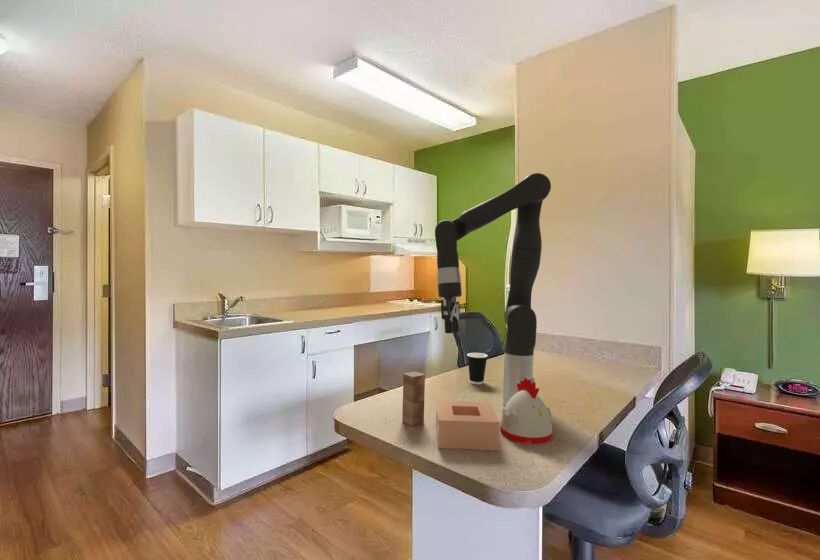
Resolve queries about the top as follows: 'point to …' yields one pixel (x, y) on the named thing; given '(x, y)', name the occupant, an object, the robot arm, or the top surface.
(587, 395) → the top surface
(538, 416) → the kitchen timer
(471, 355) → the dixie cup
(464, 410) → the terracotta well block
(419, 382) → the walnut bar
